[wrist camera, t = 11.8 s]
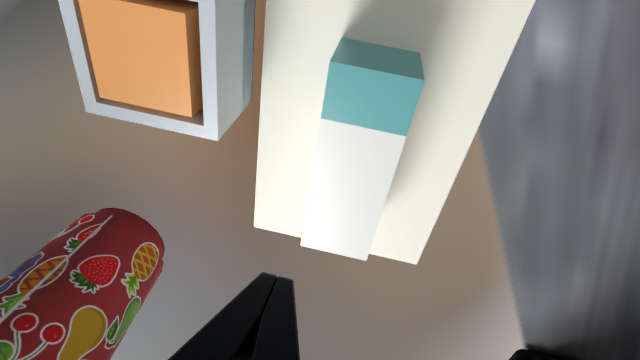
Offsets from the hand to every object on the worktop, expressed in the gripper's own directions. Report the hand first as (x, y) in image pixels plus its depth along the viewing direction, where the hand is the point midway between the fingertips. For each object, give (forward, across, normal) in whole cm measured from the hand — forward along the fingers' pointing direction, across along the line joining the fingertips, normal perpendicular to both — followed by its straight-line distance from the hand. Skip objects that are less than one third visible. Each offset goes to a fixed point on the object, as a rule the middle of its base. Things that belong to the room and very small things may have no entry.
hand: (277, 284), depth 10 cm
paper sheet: (+11, -1, +1) cm, 12 cm away
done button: (+9, +8, -3) cm, 12 cm away
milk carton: (+11, -1, +1) cm, 11 cm away
